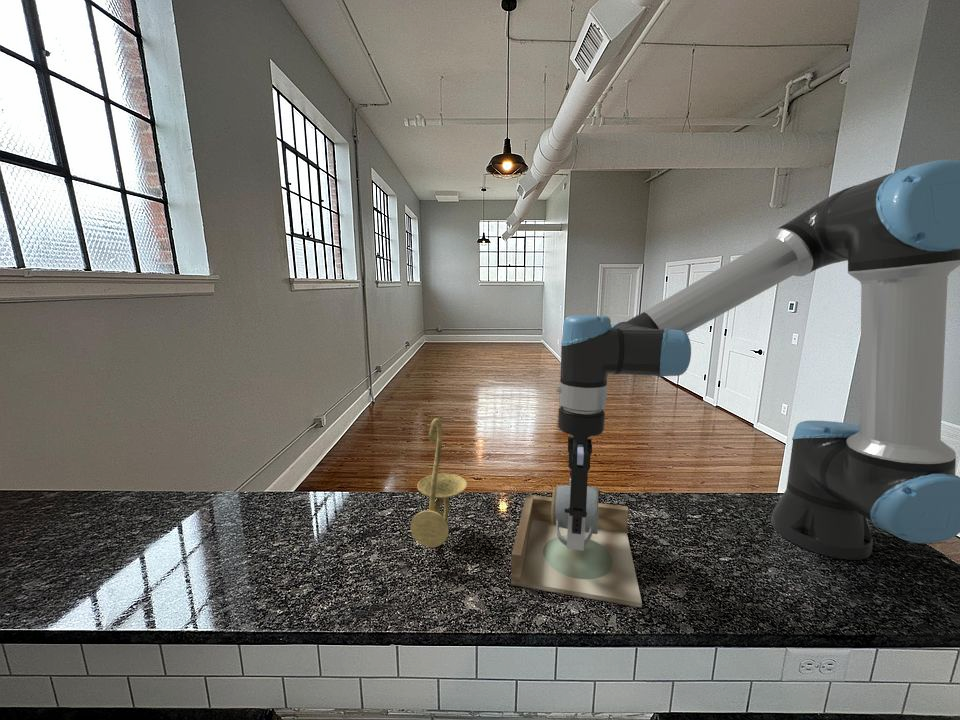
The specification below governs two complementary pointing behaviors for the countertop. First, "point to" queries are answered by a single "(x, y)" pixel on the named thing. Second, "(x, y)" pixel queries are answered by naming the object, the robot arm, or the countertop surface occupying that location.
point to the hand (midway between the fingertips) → (575, 528)
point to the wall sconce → (430, 523)
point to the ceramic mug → (563, 502)
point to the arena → (575, 556)
